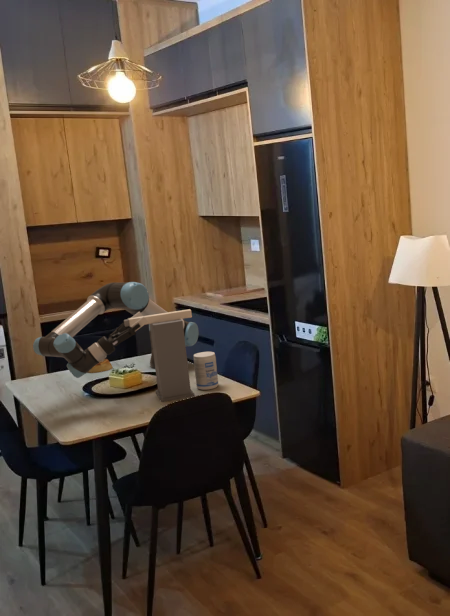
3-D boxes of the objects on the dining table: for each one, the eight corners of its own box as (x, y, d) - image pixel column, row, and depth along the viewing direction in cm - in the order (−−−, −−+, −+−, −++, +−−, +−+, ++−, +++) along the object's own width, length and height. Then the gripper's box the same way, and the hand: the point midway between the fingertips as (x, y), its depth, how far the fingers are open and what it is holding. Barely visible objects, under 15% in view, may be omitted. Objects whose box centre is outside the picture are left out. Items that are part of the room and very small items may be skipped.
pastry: (81, 369, 334) (79, 354, 333) (110, 364, 339) (108, 349, 337) (84, 375, 322) (81, 360, 320) (114, 370, 326) (112, 354, 325)
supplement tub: (211, 391, 273) (207, 357, 271) (192, 389, 278) (188, 356, 275) (222, 384, 281) (219, 351, 279) (204, 383, 286) (200, 350, 284)
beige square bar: (124, 326, 266) (123, 319, 266) (190, 316, 273) (189, 309, 272) (125, 327, 263) (124, 320, 263) (192, 317, 270) (191, 310, 269)
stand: (155, 392, 279) (146, 320, 274) (187, 387, 283) (178, 315, 277) (161, 401, 266) (151, 326, 260) (194, 395, 269) (185, 320, 264)
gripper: (105, 349, 276) (144, 318, 279) (110, 362, 253) (153, 328, 255) (94, 335, 274) (134, 305, 277) (98, 347, 251) (142, 314, 253)
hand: (143, 316), depth 266 cm, fingers open, 13 cm apart
